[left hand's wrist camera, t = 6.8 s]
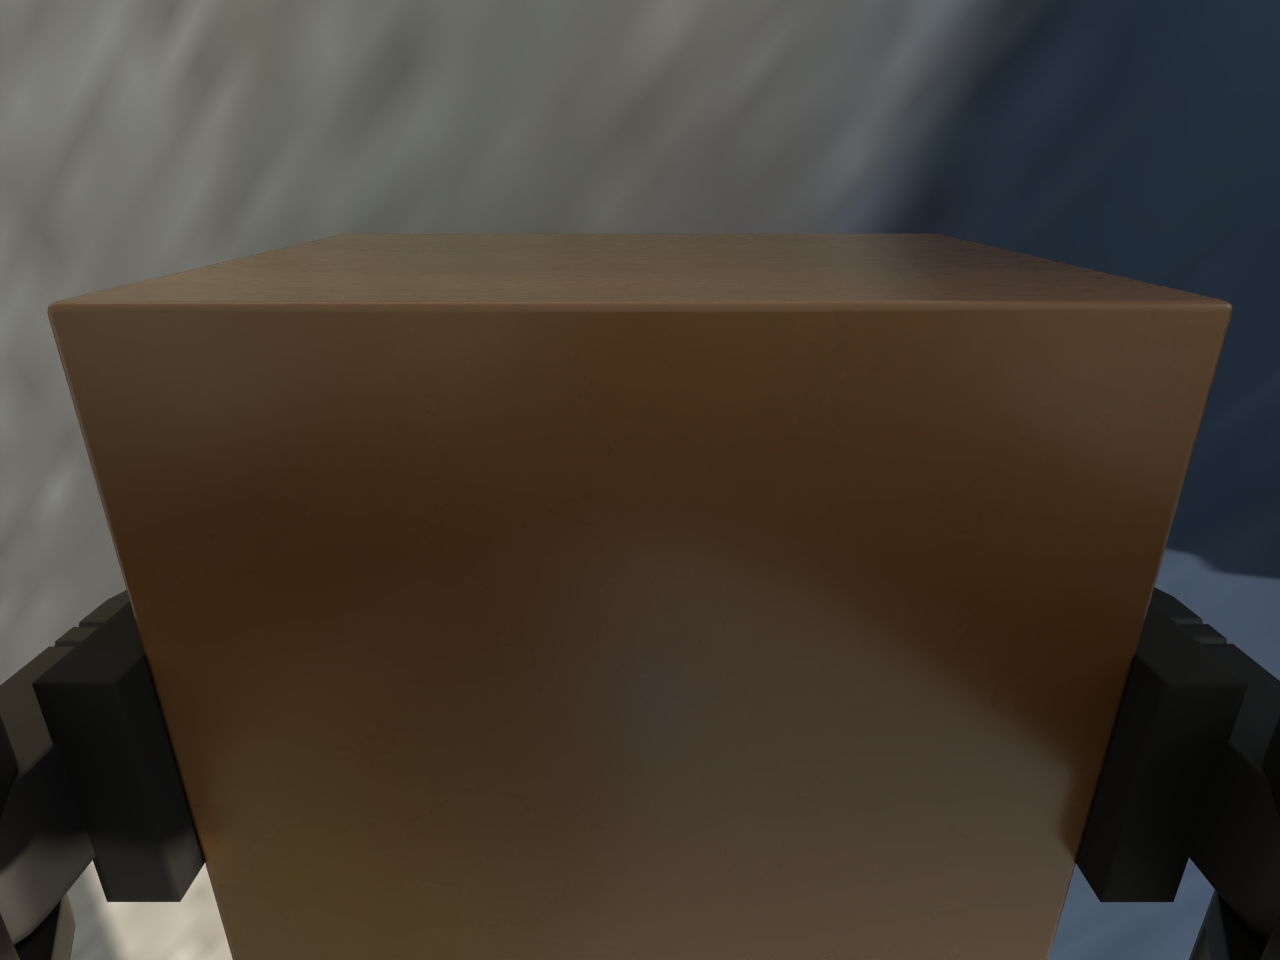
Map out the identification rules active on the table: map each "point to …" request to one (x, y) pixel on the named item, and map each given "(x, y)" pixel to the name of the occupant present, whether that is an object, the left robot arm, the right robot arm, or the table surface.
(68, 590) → the table surface
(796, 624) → the long beam
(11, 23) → the table surface
